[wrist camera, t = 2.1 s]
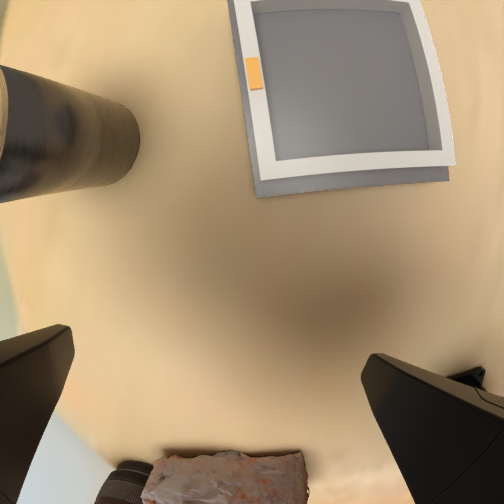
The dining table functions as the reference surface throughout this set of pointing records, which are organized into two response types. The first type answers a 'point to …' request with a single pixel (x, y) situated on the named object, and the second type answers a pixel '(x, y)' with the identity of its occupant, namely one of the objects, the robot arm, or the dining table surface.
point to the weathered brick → (227, 480)
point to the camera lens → (125, 484)
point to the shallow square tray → (340, 94)
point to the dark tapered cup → (59, 137)
